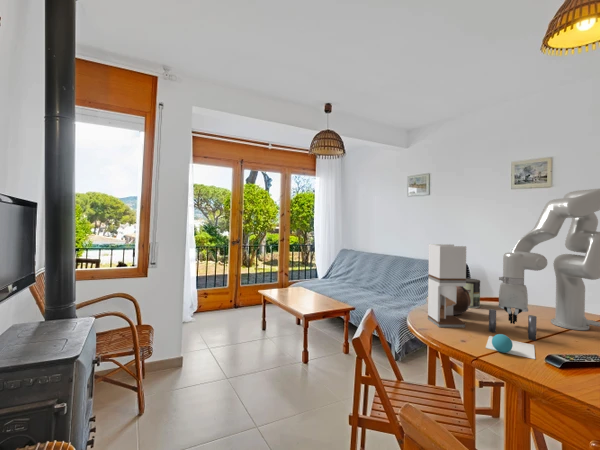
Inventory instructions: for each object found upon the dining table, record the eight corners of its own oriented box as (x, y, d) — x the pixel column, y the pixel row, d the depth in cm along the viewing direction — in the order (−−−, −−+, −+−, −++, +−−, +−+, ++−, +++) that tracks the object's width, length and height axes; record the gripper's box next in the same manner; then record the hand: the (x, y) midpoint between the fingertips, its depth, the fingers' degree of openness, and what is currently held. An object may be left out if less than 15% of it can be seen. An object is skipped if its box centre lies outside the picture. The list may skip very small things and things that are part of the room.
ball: (512, 355, 103) (513, 338, 105) (511, 353, 98) (513, 335, 100) (491, 350, 106) (493, 333, 108) (490, 348, 102) (492, 330, 104)
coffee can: (475, 303, 165) (476, 278, 165) (483, 308, 155) (483, 282, 155) (455, 302, 167) (456, 277, 167) (461, 307, 157) (462, 281, 157)
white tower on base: (438, 327, 127) (440, 246, 127) (427, 319, 138) (428, 244, 137) (465, 327, 127) (466, 246, 127) (452, 319, 138) (453, 244, 137)
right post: (536, 339, 115) (536, 316, 115) (536, 341, 113) (536, 317, 113) (527, 337, 117) (528, 314, 116) (528, 339, 115) (528, 316, 114)
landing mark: (534, 345, 109) (534, 344, 109) (535, 359, 98) (535, 358, 98) (489, 336, 117) (489, 335, 117) (485, 348, 106) (485, 347, 106)
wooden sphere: (429, 311, 150) (430, 281, 150) (450, 308, 156) (451, 279, 156) (455, 320, 136) (456, 288, 136) (477, 316, 142) (478, 285, 142)
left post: (496, 331, 123) (496, 309, 123) (495, 333, 121) (496, 311, 121) (489, 329, 124) (489, 308, 124) (488, 331, 122) (488, 310, 122)
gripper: (492, 280, 130) (491, 321, 131) (535, 284, 121) (534, 329, 122) (493, 277, 136) (493, 317, 137) (534, 282, 127) (534, 324, 127)
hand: (512, 322), depth 129 cm, fingers closed
